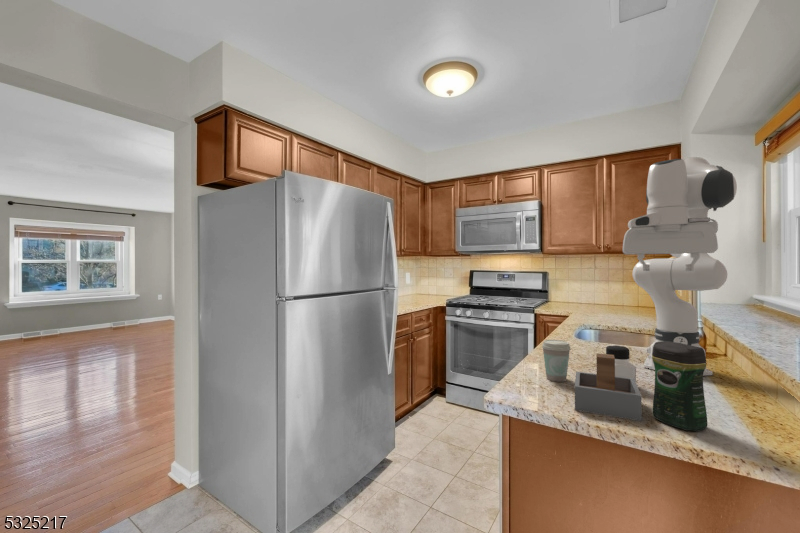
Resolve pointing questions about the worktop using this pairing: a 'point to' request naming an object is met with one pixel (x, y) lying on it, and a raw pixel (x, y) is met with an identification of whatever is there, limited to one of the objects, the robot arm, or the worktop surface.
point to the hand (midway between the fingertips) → (667, 270)
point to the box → (608, 397)
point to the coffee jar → (679, 385)
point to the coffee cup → (556, 359)
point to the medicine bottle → (622, 361)
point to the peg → (605, 371)
